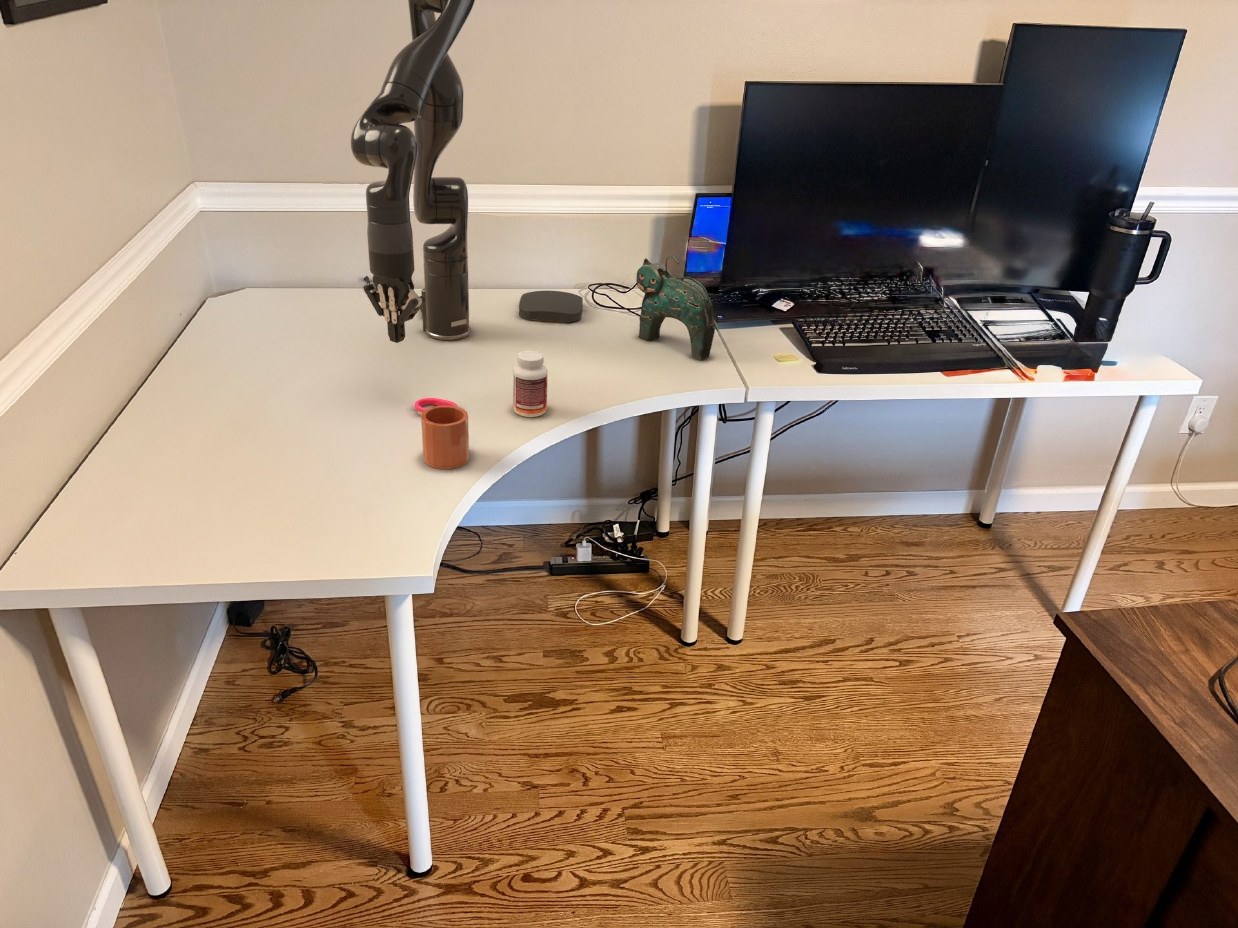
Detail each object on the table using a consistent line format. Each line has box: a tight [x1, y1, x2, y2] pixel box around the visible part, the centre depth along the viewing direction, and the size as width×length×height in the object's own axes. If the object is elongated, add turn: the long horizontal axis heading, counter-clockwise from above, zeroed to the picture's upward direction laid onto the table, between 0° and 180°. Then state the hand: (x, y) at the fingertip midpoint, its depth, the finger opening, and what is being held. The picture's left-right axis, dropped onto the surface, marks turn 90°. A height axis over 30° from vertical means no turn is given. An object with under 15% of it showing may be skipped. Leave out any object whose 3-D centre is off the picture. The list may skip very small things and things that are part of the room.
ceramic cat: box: [635, 254, 716, 361], centre depth 195 cm, size 20×6×20 cm, turn 47°
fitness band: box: [414, 397, 459, 417], centre depth 165 cm, size 8×6×2 cm
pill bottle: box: [512, 350, 548, 418], centre depth 165 cm, size 6×6×11 cm
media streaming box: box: [518, 290, 584, 323], centre depth 213 cm, size 15×15×3 cm
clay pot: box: [420, 405, 470, 470], centre depth 148 cm, size 7×7×8 cm
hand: (396, 340), depth 163 cm, fingers closed
